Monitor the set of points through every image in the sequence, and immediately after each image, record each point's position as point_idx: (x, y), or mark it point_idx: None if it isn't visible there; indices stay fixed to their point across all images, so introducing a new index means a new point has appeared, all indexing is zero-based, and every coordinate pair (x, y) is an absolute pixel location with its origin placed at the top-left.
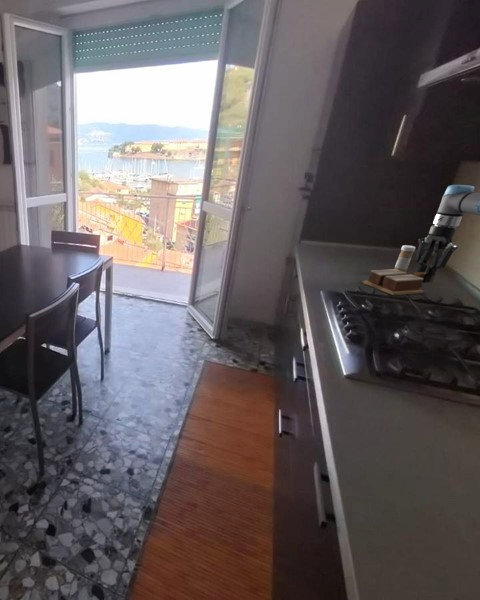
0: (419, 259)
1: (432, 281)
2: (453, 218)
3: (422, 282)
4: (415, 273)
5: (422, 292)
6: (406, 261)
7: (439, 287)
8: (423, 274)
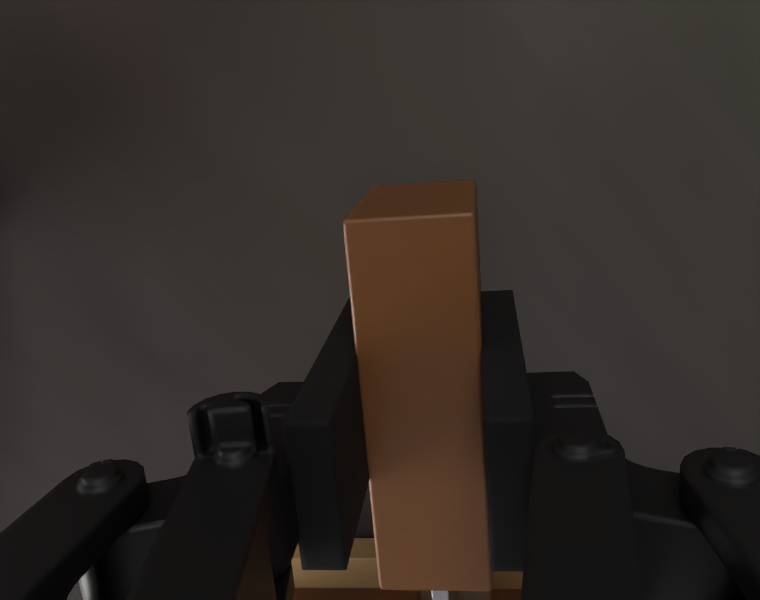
0: (129, 592)
1: (475, 186)
2: None
3: None
4: (414, 583)
5: None
6: None
7: (531, 52)
8: None
